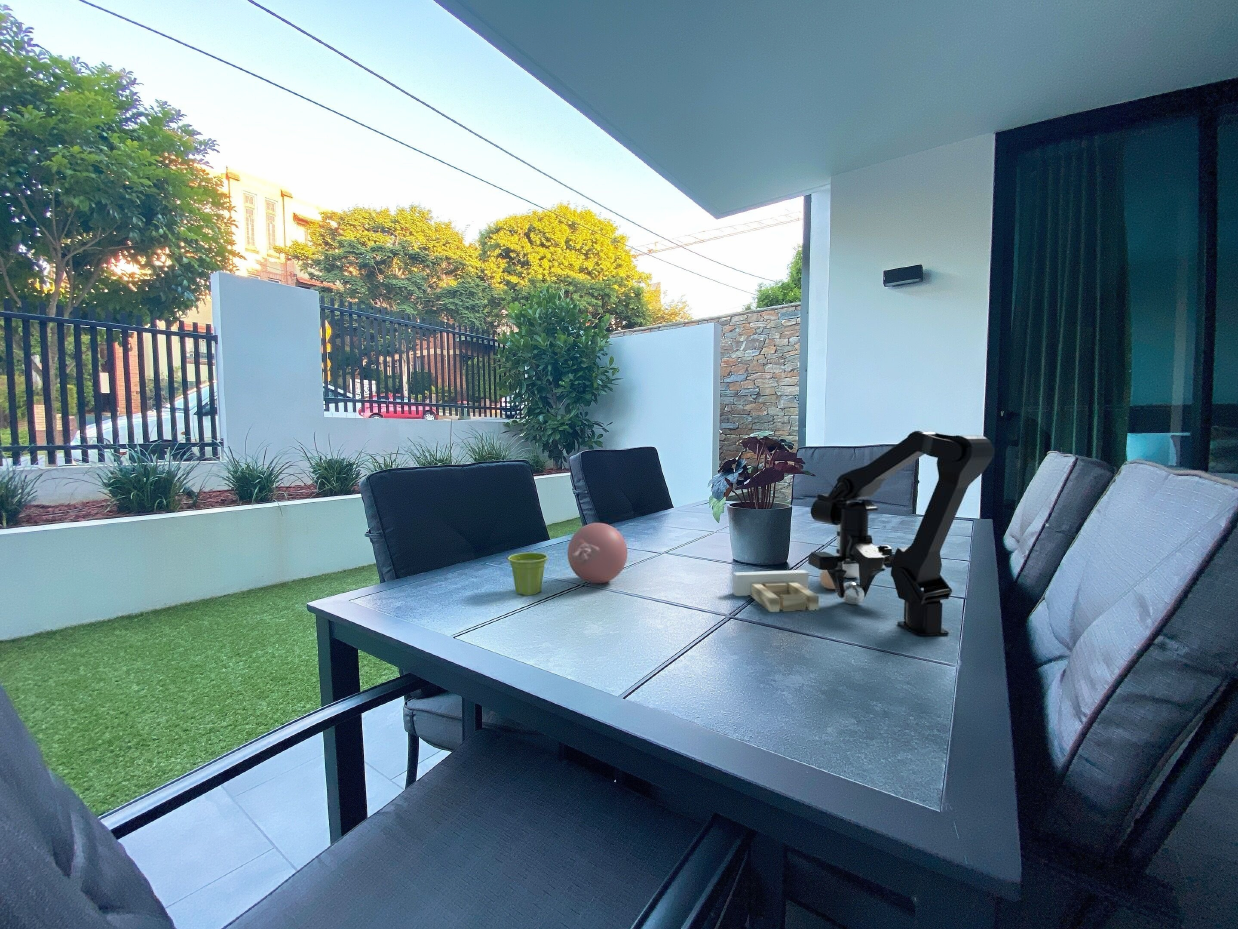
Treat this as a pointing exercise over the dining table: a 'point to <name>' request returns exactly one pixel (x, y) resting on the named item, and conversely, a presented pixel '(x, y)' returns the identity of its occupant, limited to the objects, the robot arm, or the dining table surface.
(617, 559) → the pink ball
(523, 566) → the plant pot
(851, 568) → the plastic bottle
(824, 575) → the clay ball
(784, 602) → the beech collar
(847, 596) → the steel ball
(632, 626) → the dining table surface
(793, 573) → the stop block
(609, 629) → the dining table surface
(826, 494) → the robot arm
